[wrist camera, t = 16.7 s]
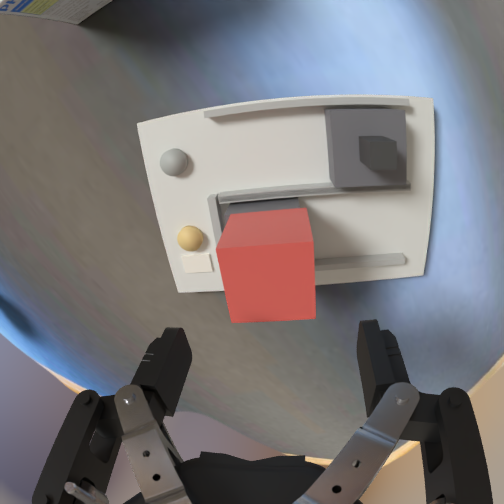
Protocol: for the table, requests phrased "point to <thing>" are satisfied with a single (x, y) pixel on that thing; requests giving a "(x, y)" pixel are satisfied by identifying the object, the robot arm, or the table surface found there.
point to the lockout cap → (268, 266)
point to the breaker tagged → (261, 206)
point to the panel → (298, 180)
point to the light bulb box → (53, 9)
